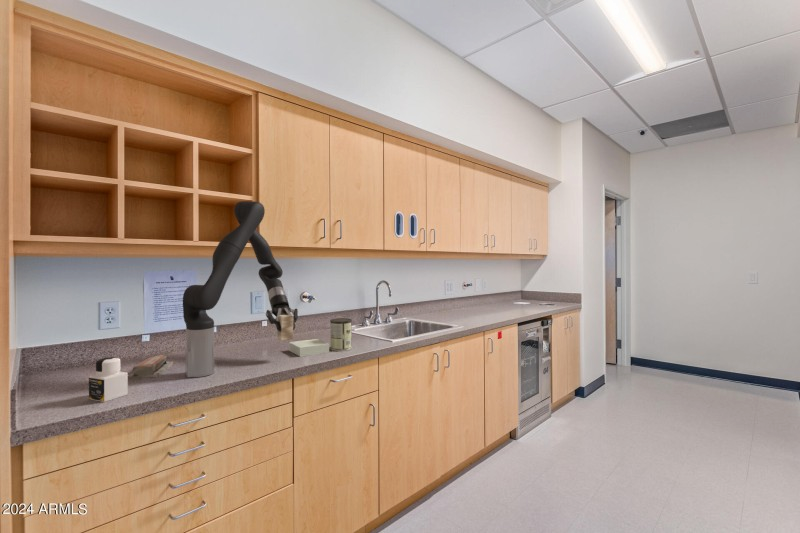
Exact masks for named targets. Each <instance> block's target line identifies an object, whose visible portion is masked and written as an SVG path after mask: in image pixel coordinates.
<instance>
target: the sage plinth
mask: <svg viewBox="0 0 800 533" xmlns="http://www.w3.org/2000/svg"><path fill="white" fill-rule="evenodd" d="M288 344H289V345H288V350H289V352H291V353H292V354H295V355H296V356H297V357H308V356H314V355H321V354H328V353H330V343H328V342H326V341H323V340H321V339H318V338H314V339H305V340H298V341H297V340H296V341H289V342H288Z"/></svg>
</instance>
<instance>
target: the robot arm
mask: <svg viewBox="0 0 800 533" xmlns="http://www.w3.org/2000/svg"><path fill="white" fill-rule="evenodd" d="M233 211H234V212H233V213H234V216H235V218H236V220H237V223H238V224H239V225H238V226H237V227H236V228H234V229H233V230H231V231H230V232H228V233H227V234H226V235H225V236H224V237H222V239H220V241H219V242H218V244H217V246H216V248H215V249H214V251H213V253H212V254H213V255H212V269H211V270H212V271H211V272H210V275H209V277H208V278H207V280H206V282H205V283H204V284H192V285H189V286H187V287H186V289H184V292H183V294H182V295H183V296H182V311H183V312H182V313H183V316H182V317H183V321H184V323H185V327H186V328H185V330H186V333H185V334H186V336H185V337H186V339H185V341H186V343H185V344H186V347H185V353H184V354H185V375H186V377H187V378H201V377H208V376H210V375H212V374H214V373H215V321H214V319H213V318H212V317H211V316H209V315H208V313H207V311H210V310H212V309H214V308H215V307H216V305H217V304H218V302H219V301H220V299H221V296H222V293H223V291H224V289H225V286H226V285H227V282H228V279H229V277H230V275H231V274H232V271H233V270H234V268H235V266H236V264H237V263H238V261H239V259H240V258H241V256H242V253H243V251H244V250H245V247H246V246H247V244H248V242H249V244H250V245H251V247H252V249H253V252H254V255H255V257H256V260H257V262H258V263H259V265H262V266H263V265H264V266H263V267H261V268H260V269H259V270H258V277H259V278H260V280H261V281H262V283H264V285H265V288H266V291H267V296H268V300H269V304H270V308H271V310H270V309H267V310H266V312H265V316H266V318H267V320H268V321H269V323H270V325H275V327H276V330H277V331H278V330H279V332H280V331H281V325H280V322H279V315H292V316H293V331H294V330H295V329H296V322H297V321H298V313H299V311H298V308H294V309H292V308H291V306H290V303H289V301H288V297H287V294H286V291H285V289H284V286H283V283H282V280H280V279H281V277H282V276H283V269H282V267H281V265H280V264H279V263H278V262H277V260H276V258H274V255H273V253H272V250H271V246H270V245H269V243H268V241H267V240H266V239H265V237H264V236H263V235H262V234H261V233H260V232H259V230H257V229H258V227H259V225H260V224H261V223H262V221H263V219H264V217H265V213H266V212H265V207H264V204H263V203H261V202H259V201H249V200H248V201H246V200H245V201H238V202H237V203H235V205H234V207H233ZM265 265H266V266H265ZM273 315H274V316H275V317H274V316H273Z"/></svg>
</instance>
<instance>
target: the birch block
mask: <svg viewBox="0 0 800 533" xmlns="http://www.w3.org/2000/svg"><path fill="white" fill-rule="evenodd" d="M293 318H294V317H293V314H291V315H279V322H280V325H281V331H280V332H279V330H277V339H278V340H280V341H287V340H288V341H290V340H294V330H293Z"/></svg>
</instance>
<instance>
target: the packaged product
mask: <svg viewBox="0 0 800 533" xmlns="http://www.w3.org/2000/svg"><path fill="white" fill-rule="evenodd" d="M167 359H168V358H167V355H163V354H158V355H155V356H154V355H153V356H151V357H148V358H146V359H145V360H143V361H141V362H140V363H138V364H137V365H135V366H133V367H132V370H133V372H131V373H130V374H128V380H129V379H142V378H143V379H145V378H157V377H159V376H161V374H163V373H164V372H165V371H168V369H170V368H171V366H173V364H174V361H167Z"/></svg>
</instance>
